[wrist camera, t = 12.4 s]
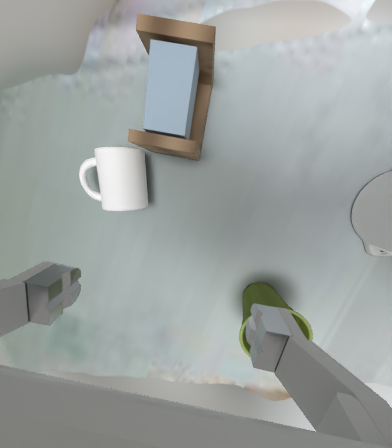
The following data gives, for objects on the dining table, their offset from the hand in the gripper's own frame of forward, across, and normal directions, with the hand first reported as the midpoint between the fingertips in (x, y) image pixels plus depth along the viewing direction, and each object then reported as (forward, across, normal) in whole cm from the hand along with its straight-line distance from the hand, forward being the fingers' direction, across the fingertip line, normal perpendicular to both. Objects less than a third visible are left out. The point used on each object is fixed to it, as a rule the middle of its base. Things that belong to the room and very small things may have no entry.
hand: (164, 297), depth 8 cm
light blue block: (+23, +6, -15) cm, 28 cm away
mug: (+29, +16, -2) cm, 33 cm away
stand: (+29, +6, -15) cm, 33 cm away
